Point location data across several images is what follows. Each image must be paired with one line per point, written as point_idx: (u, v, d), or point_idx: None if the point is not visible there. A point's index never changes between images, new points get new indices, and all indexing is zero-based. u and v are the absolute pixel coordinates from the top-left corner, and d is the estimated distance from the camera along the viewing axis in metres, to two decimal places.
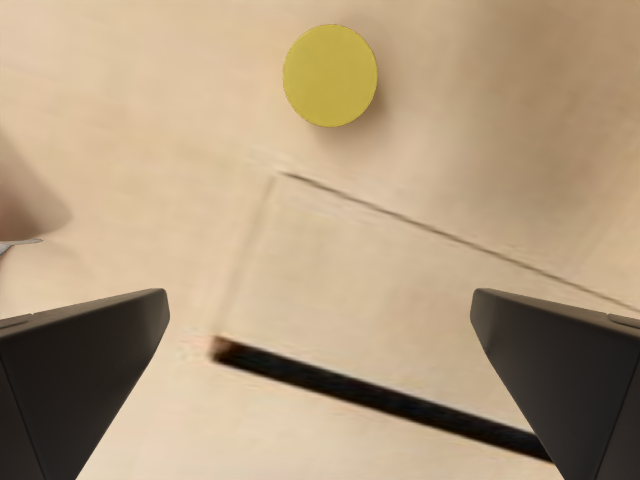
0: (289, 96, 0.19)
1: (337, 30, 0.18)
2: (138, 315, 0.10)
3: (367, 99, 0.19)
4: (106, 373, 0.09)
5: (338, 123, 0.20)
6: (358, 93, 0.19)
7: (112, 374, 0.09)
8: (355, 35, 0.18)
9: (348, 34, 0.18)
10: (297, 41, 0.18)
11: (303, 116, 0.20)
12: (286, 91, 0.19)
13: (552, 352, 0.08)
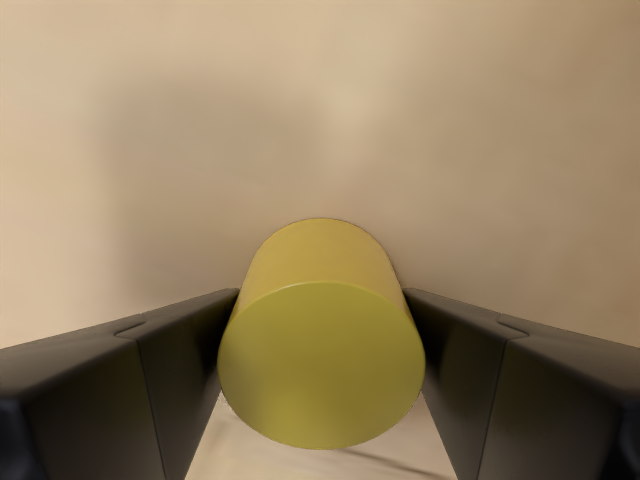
0: (232, 401, 0.09)
1: (340, 292, 0.08)
2: (226, 315, 0.10)
3: (400, 410, 0.09)
4: (205, 373, 0.09)
5: (337, 446, 0.09)
6: (380, 399, 0.09)
7: (209, 374, 0.09)
8: (380, 301, 0.08)
9: (364, 299, 0.08)
10: (247, 309, 0.08)
11: (263, 433, 0.09)
12: (225, 393, 0.09)
13: (448, 352, 0.08)
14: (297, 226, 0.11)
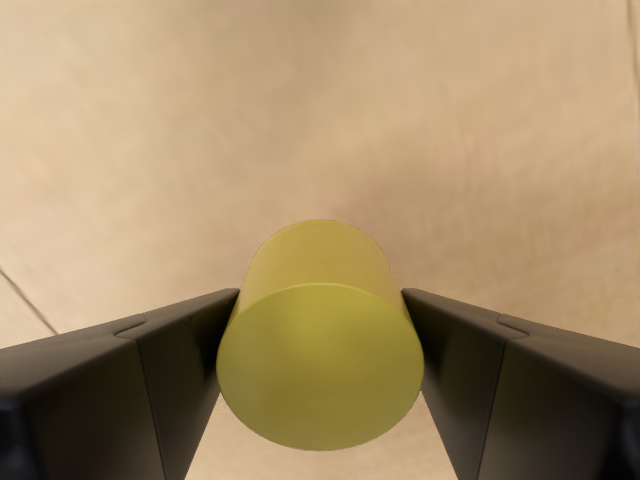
0: (231, 403, 0.09)
1: (338, 293, 0.08)
2: (226, 315, 0.10)
3: (399, 411, 0.09)
4: (205, 373, 0.09)
5: (336, 447, 0.09)
6: (379, 401, 0.09)
7: (209, 374, 0.09)
8: (379, 303, 0.08)
9: (363, 301, 0.08)
10: (246, 311, 0.08)
11: (262, 435, 0.09)
12: (225, 394, 0.09)
13: (448, 352, 0.08)
14: (297, 228, 0.11)
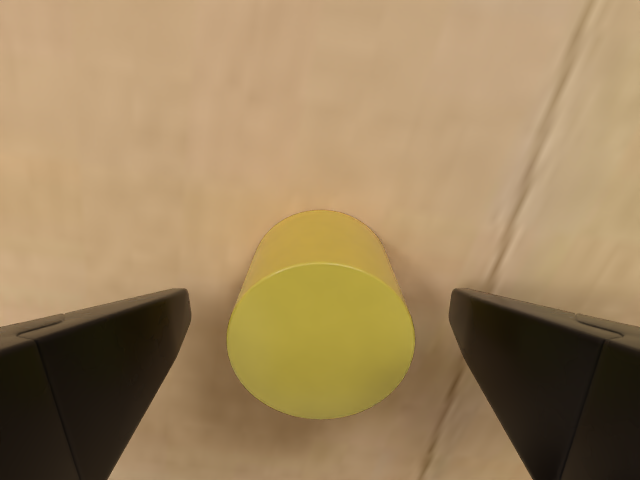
0: (240, 374, 0.10)
1: (337, 272, 0.09)
2: (164, 315, 0.10)
3: (392, 382, 0.10)
4: (135, 373, 0.09)
5: (335, 416, 0.10)
6: (374, 372, 0.10)
7: (140, 374, 0.09)
8: (373, 281, 0.09)
9: (359, 279, 0.09)
10: (254, 288, 0.09)
11: (268, 404, 0.10)
12: (234, 366, 0.10)
13: (521, 352, 0.08)
14: (299, 217, 0.12)
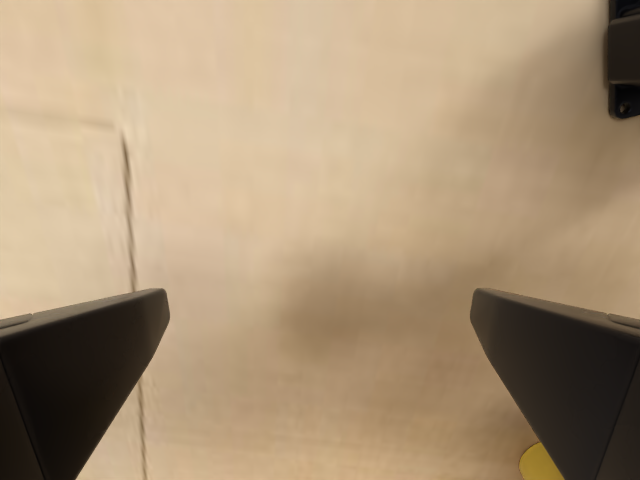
0: None
1: None
2: (138, 315, 0.10)
3: None
4: (106, 373, 0.09)
5: None
6: None
7: (112, 374, 0.09)
8: None
9: None
10: None
11: None
12: None
13: (552, 352, 0.08)
14: None
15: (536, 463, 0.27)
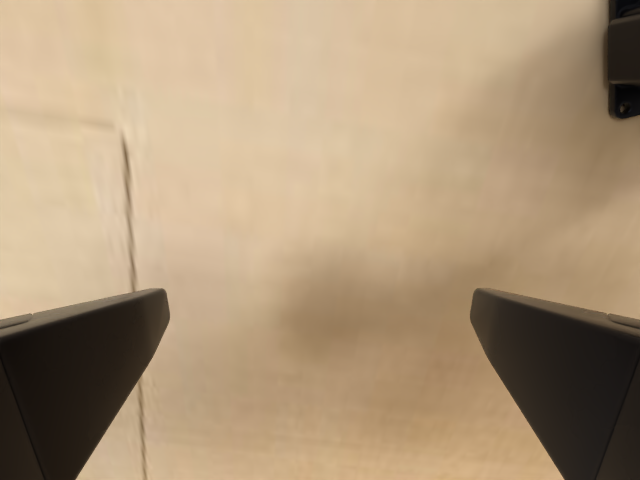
0: None
1: None
2: (138, 315, 0.10)
3: None
4: (106, 373, 0.09)
5: None
6: None
7: (112, 374, 0.09)
8: None
9: None
10: None
11: None
12: None
13: (552, 352, 0.08)
14: None
15: None
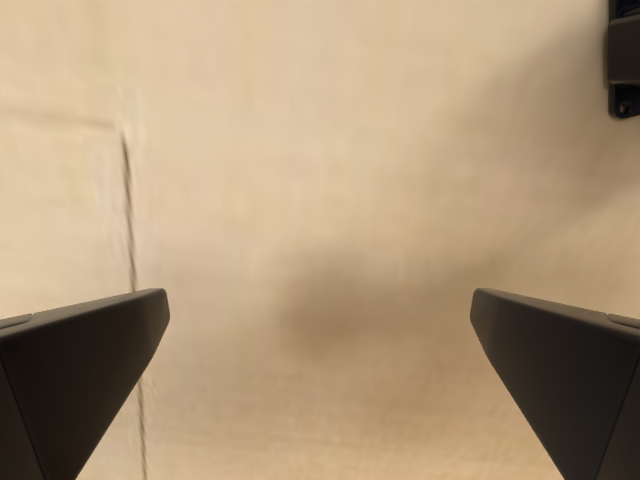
0: None
1: None
2: (138, 315, 0.10)
3: None
4: (106, 373, 0.09)
5: None
6: None
7: (112, 374, 0.09)
8: None
9: None
10: None
11: None
12: None
13: (552, 352, 0.08)
14: None
15: None
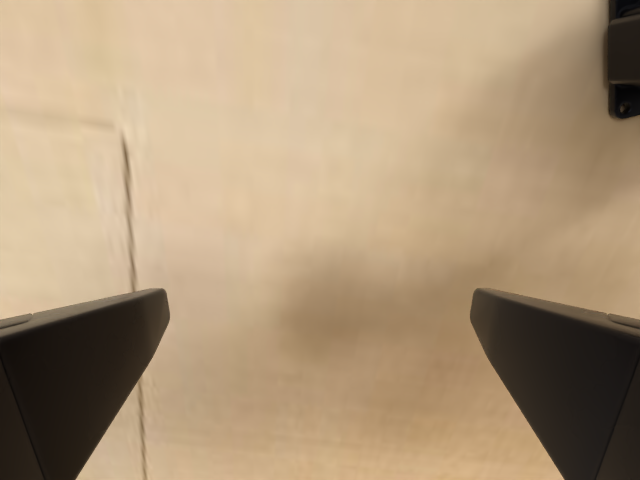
0: None
1: None
2: (138, 315, 0.10)
3: None
4: (106, 373, 0.09)
5: None
6: None
7: (112, 374, 0.09)
8: None
9: None
10: None
11: None
12: None
13: (552, 352, 0.08)
14: None
15: None
